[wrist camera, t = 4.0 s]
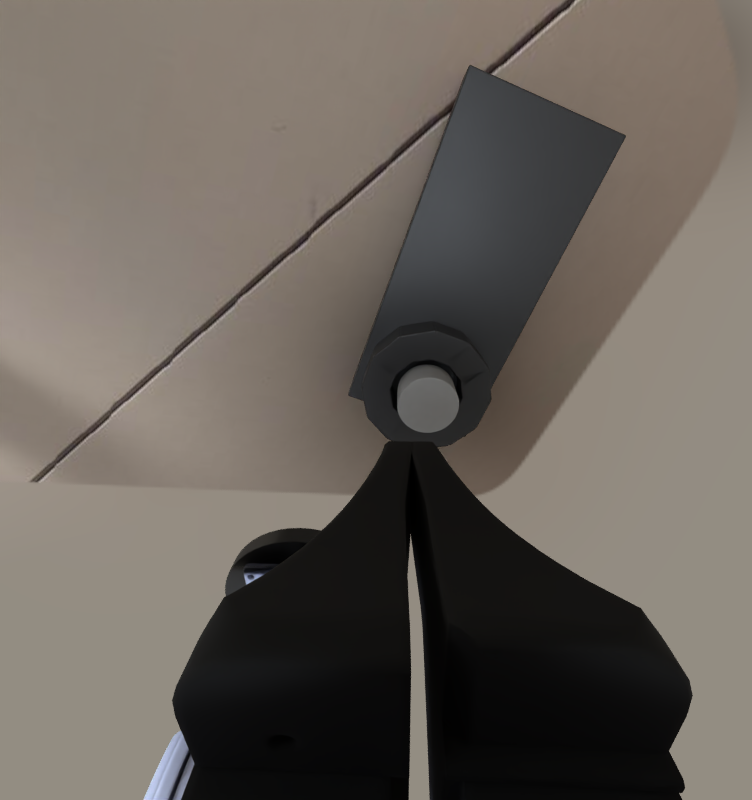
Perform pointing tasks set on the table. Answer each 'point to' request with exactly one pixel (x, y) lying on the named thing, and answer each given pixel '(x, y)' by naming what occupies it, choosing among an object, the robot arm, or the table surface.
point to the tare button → (427, 399)
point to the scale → (481, 246)
